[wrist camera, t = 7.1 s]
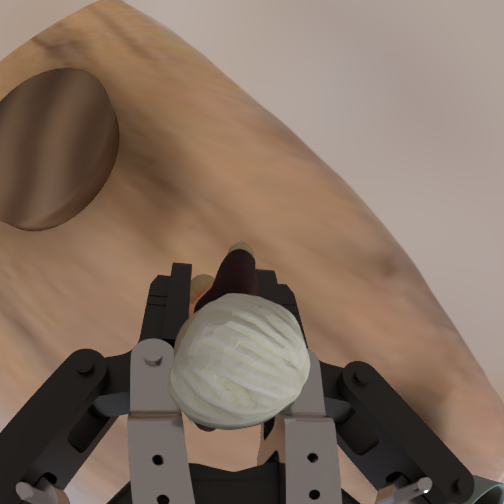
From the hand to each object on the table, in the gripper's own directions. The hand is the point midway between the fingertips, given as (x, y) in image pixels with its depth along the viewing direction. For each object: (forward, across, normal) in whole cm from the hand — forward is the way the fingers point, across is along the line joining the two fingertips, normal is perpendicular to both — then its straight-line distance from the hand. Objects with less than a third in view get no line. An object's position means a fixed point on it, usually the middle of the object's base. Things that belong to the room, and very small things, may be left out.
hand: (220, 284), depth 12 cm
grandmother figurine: (+3, 0, +6) cm, 6 cm away
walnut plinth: (+19, +18, +2) cm, 26 cm away
